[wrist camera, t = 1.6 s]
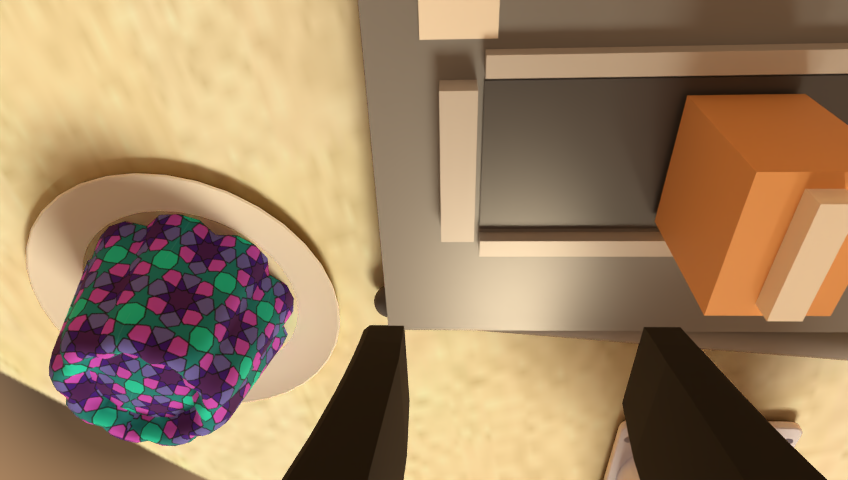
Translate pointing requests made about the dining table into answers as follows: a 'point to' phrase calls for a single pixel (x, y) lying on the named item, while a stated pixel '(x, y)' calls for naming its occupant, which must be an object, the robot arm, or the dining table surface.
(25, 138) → the dining table surface
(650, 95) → the grey framed board
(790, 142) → the lever
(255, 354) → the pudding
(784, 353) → the cord
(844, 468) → the dining table surface
